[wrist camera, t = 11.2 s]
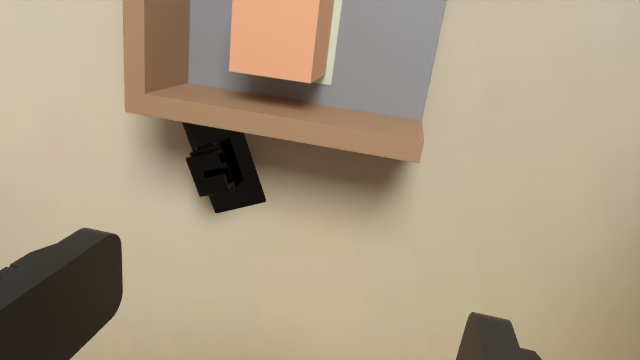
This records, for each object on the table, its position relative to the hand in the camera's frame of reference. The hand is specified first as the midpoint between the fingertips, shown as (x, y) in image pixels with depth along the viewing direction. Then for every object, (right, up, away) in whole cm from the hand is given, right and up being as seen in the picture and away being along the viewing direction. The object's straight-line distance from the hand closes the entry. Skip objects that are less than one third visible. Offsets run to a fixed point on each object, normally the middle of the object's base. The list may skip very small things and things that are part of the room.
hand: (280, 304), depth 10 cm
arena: (0, +16, +27) cm, 31 cm away
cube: (-1, +15, +26) cm, 30 cm away
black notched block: (-8, +5, +33) cm, 34 cm away
